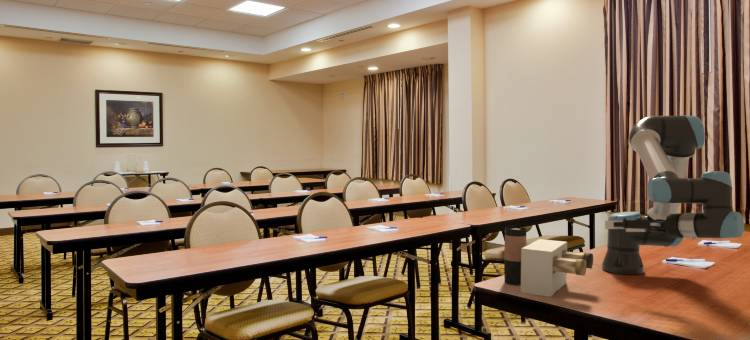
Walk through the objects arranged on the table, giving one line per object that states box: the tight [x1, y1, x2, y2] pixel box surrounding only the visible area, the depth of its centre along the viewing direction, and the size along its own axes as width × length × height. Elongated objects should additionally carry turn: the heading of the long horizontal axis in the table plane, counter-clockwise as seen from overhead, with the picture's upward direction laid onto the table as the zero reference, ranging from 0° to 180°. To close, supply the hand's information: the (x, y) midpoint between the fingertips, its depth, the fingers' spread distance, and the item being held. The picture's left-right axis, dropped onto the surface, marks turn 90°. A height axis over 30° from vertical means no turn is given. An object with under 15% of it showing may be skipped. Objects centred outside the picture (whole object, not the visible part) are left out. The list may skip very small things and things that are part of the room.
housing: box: [520, 238, 568, 298], centre depth 186 cm, size 10×22×15 cm, turn 148°
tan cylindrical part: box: [562, 251, 594, 270], centre depth 187 cm, size 13×5×5 cm, turn 58°
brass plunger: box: [553, 257, 587, 277], centre depth 177 cm, size 13×5×5 cm, turn 58°
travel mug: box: [503, 226, 527, 286], centre depth 192 cm, size 8×8×20 cm
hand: (616, 226), depth 180 cm, fingers open, 13 cm apart
